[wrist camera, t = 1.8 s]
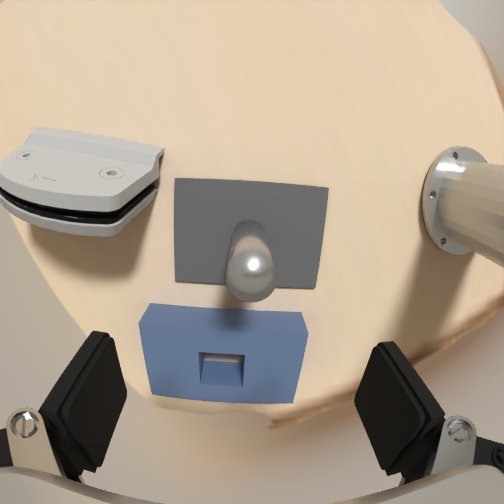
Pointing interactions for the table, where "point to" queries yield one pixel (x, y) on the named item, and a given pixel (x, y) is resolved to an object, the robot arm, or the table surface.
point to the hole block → (223, 342)
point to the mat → (247, 208)
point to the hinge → (79, 181)
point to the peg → (250, 263)
